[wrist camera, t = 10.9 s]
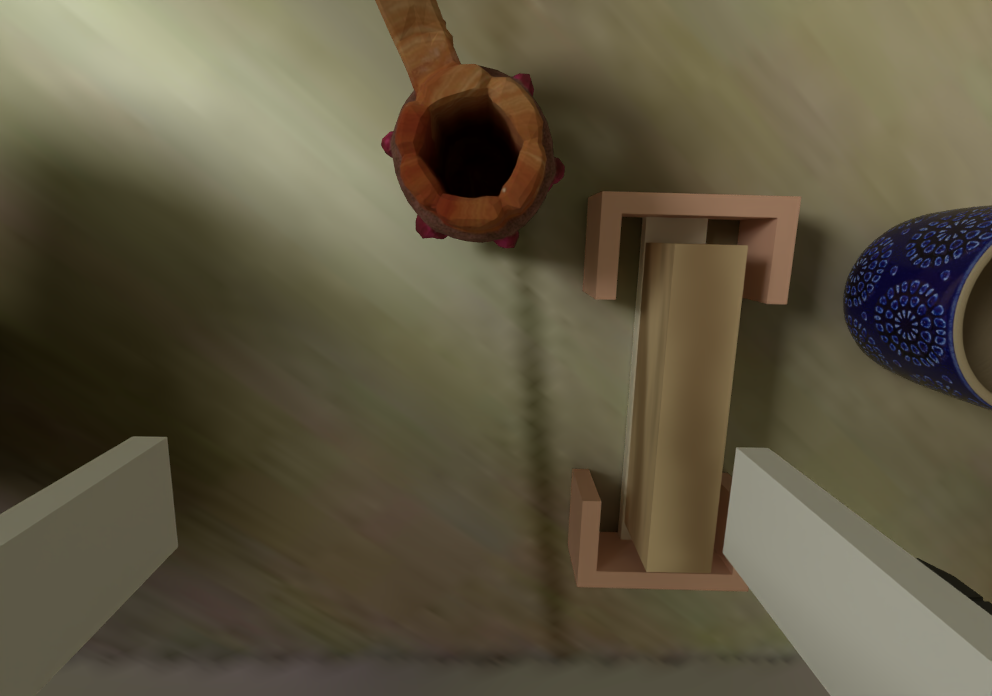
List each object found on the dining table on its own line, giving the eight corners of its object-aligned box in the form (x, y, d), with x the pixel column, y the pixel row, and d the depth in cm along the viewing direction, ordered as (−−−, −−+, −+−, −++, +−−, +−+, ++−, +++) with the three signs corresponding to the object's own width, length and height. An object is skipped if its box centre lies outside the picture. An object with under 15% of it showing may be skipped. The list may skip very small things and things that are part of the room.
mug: (563, 222, 37) (607, 213, 22) (451, 270, 37) (421, 292, 22) (476, -1, 34) (461, -185, 19) (358, 54, 34) (254, -81, 20)
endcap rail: (567, 545, 41) (577, 587, 36) (588, 197, 36) (602, 191, 31) (718, 549, 41) (748, 591, 36) (760, 202, 36) (801, 196, 31)
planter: (973, 362, 38) (1163, 413, 27) (817, 376, 39) (943, 431, 28) (987, 202, 36) (1199, 188, 25) (821, 217, 36) (960, 210, 26)
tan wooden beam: (624, 522, 40) (646, 572, 34) (645, 242, 36) (675, 243, 30) (679, 523, 40) (710, 573, 34) (706, 243, 36) (748, 245, 30)
